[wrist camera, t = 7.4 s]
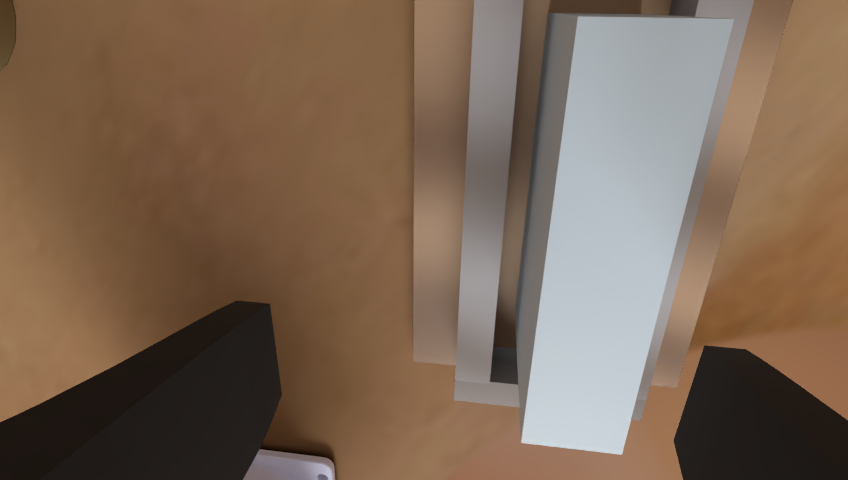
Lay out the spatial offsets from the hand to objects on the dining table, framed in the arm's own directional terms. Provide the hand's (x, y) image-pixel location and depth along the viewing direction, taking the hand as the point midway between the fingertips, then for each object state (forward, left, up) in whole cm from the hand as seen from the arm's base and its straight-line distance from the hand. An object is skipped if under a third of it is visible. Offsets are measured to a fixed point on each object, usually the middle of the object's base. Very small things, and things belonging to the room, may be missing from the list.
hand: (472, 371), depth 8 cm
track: (+1, -3, -10) cm, 10 cm away
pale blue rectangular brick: (+1, -3, -9) cm, 9 cm away
